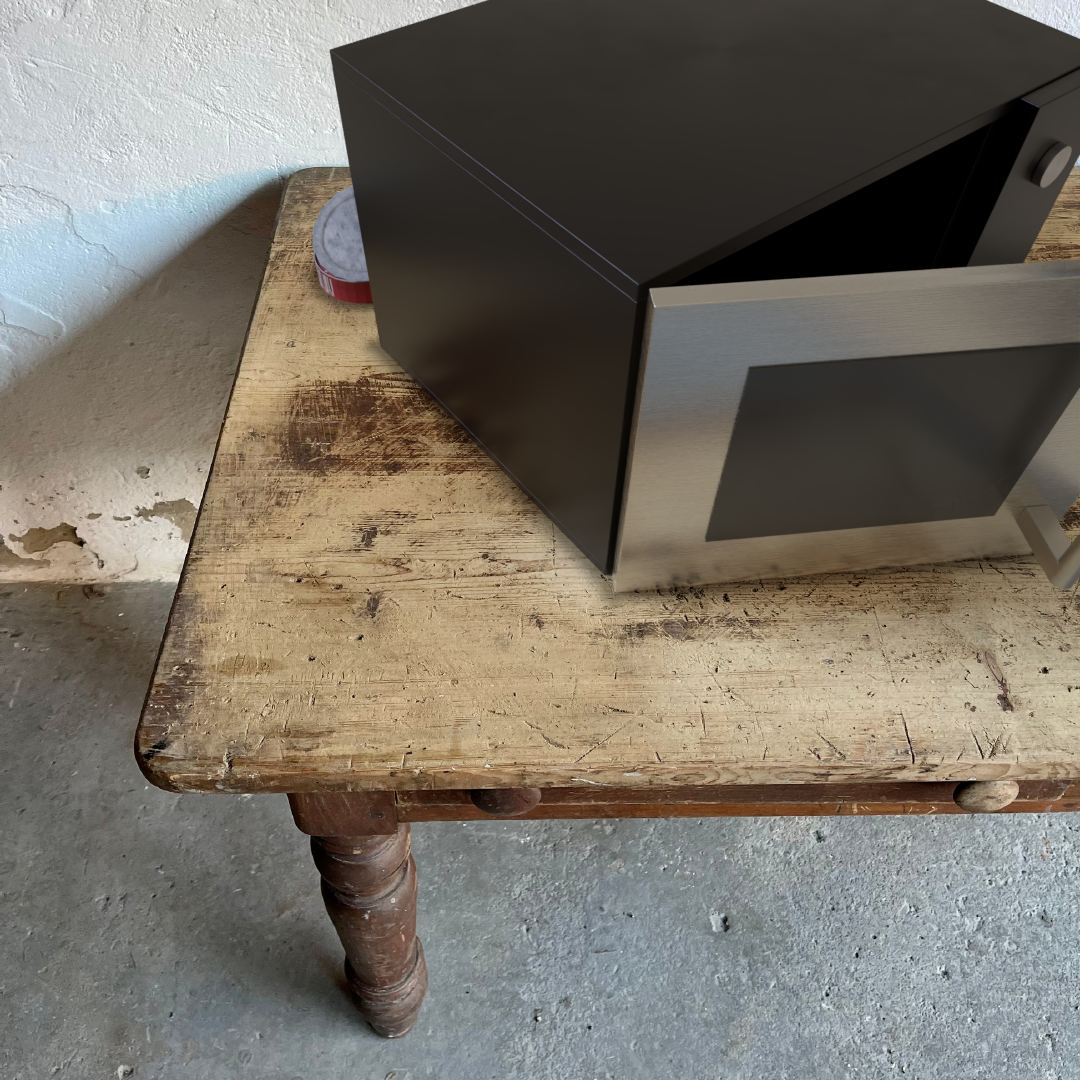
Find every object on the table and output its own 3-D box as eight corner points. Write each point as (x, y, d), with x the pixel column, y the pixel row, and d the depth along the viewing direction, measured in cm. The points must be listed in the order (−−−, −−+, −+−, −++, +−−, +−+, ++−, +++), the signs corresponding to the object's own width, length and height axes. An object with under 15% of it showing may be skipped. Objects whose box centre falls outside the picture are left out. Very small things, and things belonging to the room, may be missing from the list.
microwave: (982, 359, 87) (1140, 63, 64) (624, 598, 70) (668, 307, 47) (719, 190, 104) (771, -90, 81) (380, 348, 87) (328, 49, 64)
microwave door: (1072, 621, 68) (1331, 339, 46) (629, 665, 66) (679, 389, 44) (1026, 538, 73) (1241, 247, 51) (611, 577, 71) (648, 287, 48)
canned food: (419, 303, 98) (449, 247, 90) (348, 339, 93) (372, 284, 84) (356, 222, 98) (380, 159, 90) (281, 254, 93) (299, 190, 84)
